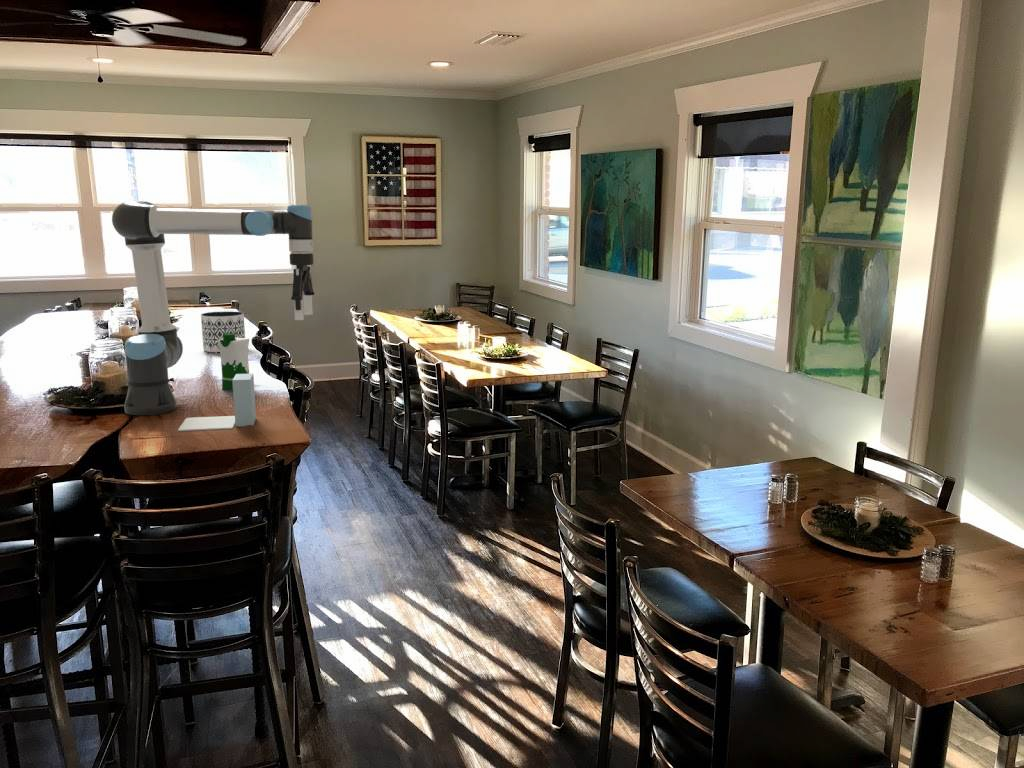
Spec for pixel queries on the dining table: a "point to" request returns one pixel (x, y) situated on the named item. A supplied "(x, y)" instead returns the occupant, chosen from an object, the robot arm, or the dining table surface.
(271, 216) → the robot arm
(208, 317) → the planter
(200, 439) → the dining table surface
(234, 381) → the slab
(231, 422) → the mat
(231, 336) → the milk carton
